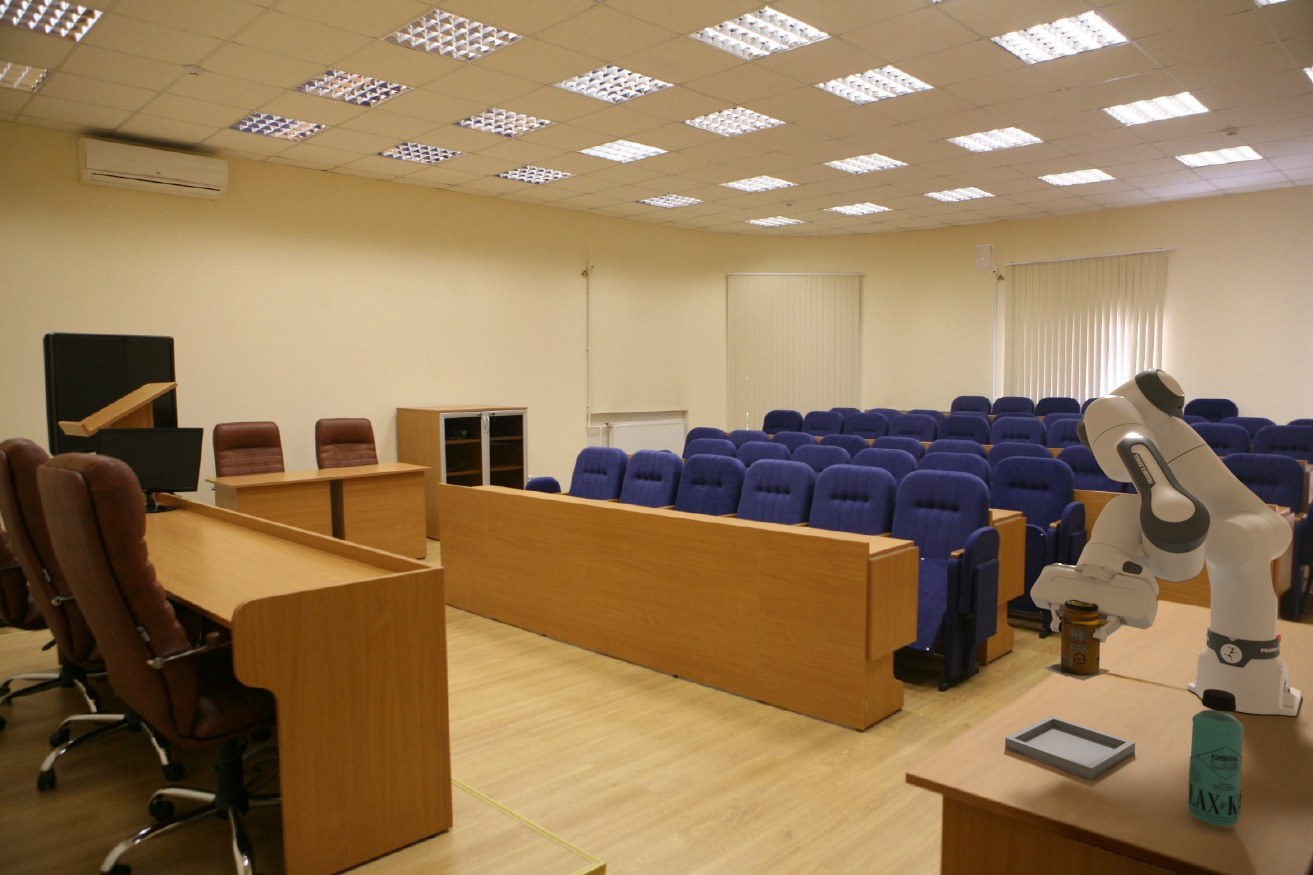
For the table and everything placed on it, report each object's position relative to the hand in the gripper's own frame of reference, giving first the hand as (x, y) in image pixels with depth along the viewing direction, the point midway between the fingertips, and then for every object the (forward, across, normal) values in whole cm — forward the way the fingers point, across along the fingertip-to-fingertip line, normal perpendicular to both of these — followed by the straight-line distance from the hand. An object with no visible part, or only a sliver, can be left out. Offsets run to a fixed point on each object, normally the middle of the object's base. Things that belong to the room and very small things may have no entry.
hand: (1076, 635), depth 144 cm
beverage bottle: (+21, +24, +10) cm, 33 cm away
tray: (+15, -1, +15) cm, 21 cm away
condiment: (+4, 0, +5) cm, 7 cm away
